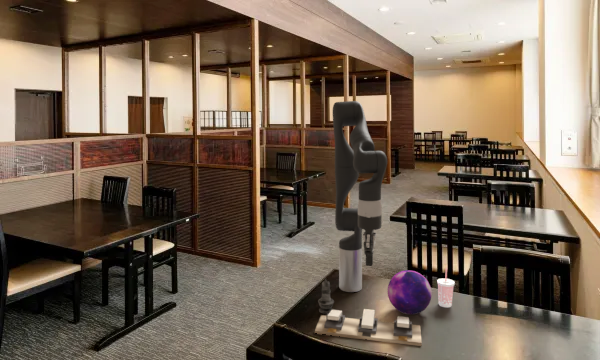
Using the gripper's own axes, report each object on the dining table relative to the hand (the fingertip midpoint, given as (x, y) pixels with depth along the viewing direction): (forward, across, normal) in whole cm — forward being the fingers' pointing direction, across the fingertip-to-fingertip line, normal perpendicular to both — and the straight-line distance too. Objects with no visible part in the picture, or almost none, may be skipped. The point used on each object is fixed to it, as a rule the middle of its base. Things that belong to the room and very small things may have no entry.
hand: (369, 265), depth 132 cm
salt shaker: (+21, -8, -16) cm, 28 cm away
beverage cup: (+21, -22, +26) cm, 40 cm away
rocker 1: (+18, +2, -11) cm, 21 cm away
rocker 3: (+18, +2, +11) cm, 21 cm away
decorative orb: (+21, -13, +13) cm, 28 cm away
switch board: (+21, +4, 0) cm, 21 cm away
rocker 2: (+18, +2, 0) cm, 18 cm away
